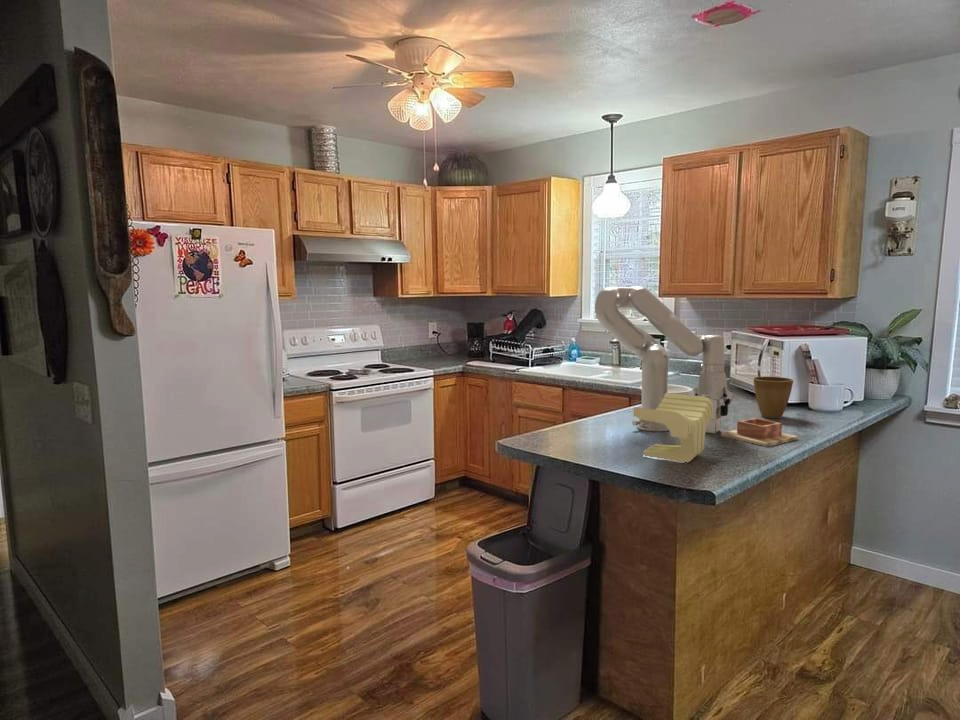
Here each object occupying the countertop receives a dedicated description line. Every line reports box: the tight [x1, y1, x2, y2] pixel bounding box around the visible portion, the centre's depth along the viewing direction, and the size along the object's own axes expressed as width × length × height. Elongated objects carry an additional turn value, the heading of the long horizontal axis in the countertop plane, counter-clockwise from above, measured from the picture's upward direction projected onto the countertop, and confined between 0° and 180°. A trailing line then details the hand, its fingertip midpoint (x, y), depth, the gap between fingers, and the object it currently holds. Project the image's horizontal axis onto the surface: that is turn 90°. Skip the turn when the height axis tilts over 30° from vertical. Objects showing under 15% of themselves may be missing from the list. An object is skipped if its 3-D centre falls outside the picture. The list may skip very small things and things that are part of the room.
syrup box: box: [702, 394, 722, 434], centre depth 227 cm, size 6×6×14 cm
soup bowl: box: [638, 383, 693, 395], centre depth 286 cm, size 24×24×7 cm
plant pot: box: [752, 376, 794, 419], centre depth 251 cm, size 15×15×16 cm
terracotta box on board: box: [720, 417, 799, 448], centre depth 217 cm, size 18×18×6 cm
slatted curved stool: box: [633, 393, 713, 464], centre depth 194 cm, size 30×16×18 cm, turn 145°
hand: (712, 413), depth 227 cm, fingers open, 9 cm apart
